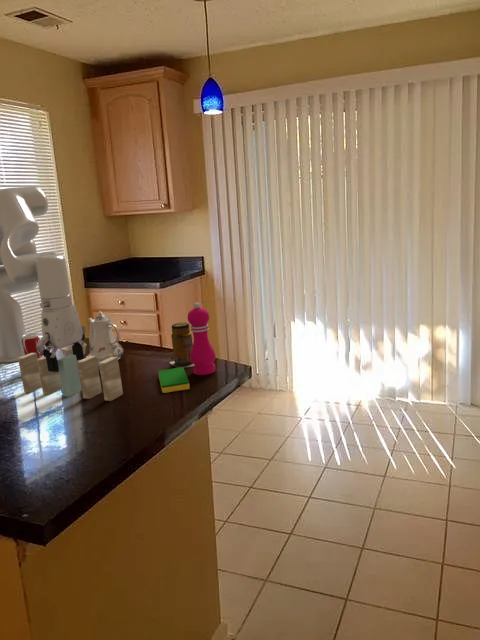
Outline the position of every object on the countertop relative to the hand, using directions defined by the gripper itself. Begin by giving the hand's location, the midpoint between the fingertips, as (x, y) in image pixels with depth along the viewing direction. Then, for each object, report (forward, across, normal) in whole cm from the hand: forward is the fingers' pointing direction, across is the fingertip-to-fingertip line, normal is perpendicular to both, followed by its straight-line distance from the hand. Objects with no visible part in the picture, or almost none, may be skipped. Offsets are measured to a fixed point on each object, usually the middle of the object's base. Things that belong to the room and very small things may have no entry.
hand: (66, 365), depth 151 cm
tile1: (+8, 0, +13) cm, 15 cm away
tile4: (+8, 0, -8) cm, 11 cm away
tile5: (+7, 0, -15) cm, 17 cm away
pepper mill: (+7, +23, -29) cm, 37 cm away
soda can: (+9, +13, +25) cm, 29 cm away
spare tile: (+8, 0, -1) cm, 8 cm away
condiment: (+8, +29, -19) cm, 35 cm away
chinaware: (+9, +25, +11) cm, 28 cm away
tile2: (+8, 0, +6) cm, 10 cm away
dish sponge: (+8, +13, -25) cm, 29 cm away
